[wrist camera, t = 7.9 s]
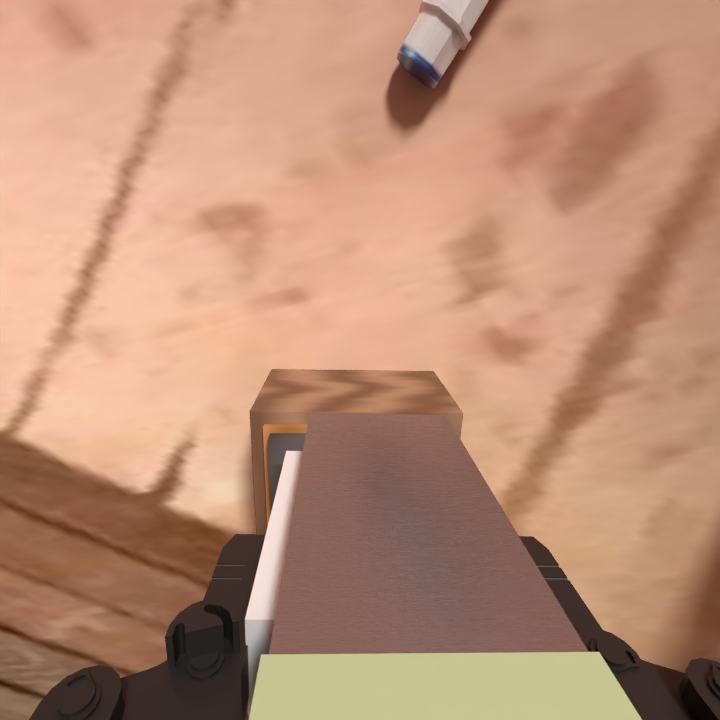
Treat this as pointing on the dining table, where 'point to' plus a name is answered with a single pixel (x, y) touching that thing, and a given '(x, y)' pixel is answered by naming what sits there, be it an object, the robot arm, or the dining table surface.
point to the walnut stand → (330, 394)
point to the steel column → (416, 592)
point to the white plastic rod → (438, 37)
